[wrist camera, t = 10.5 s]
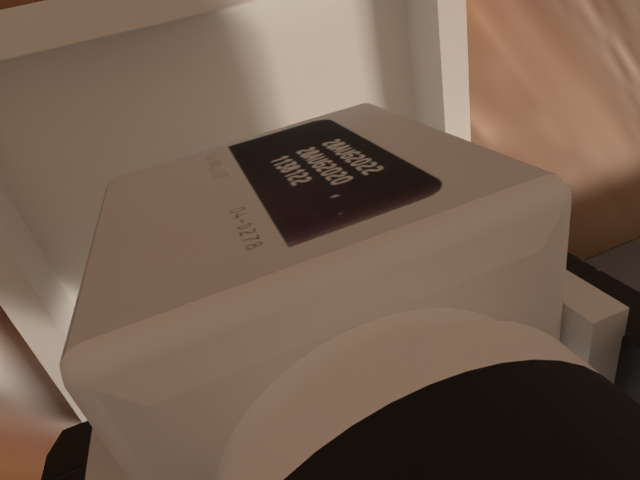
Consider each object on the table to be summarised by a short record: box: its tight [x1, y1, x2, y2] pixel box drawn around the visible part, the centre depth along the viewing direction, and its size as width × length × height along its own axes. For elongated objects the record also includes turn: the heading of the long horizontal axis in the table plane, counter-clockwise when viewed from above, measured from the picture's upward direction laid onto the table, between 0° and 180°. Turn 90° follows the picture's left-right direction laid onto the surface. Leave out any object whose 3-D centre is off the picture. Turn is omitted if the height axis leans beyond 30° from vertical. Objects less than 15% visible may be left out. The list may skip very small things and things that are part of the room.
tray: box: [0, 0, 471, 423], centre depth 16 cm, size 16×16×3 cm
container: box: [59, 103, 640, 480], centre depth 9 cm, size 8×8×13 cm
